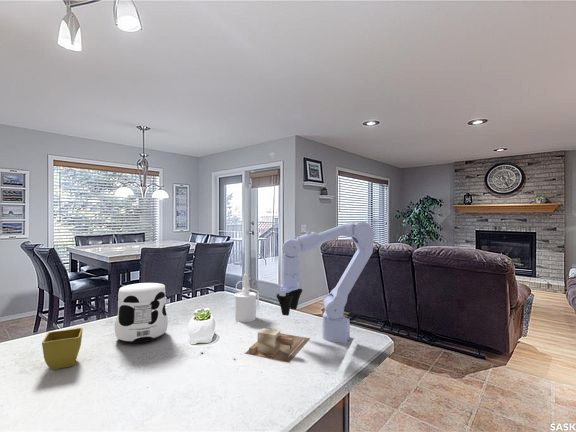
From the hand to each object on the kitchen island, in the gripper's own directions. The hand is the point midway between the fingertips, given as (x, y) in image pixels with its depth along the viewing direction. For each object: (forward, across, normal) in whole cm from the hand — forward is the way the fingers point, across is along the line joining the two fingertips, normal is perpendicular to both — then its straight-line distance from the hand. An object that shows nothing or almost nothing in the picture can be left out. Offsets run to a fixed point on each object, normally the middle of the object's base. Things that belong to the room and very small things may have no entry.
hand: (289, 312), depth 112 cm
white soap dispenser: (+11, -12, -24) cm, 29 cm away
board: (+10, +8, 0) cm, 13 cm away
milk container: (+11, +18, -50) cm, 54 cm away
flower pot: (+11, +43, -54) cm, 70 cm away
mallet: (+9, +13, +1) cm, 16 cm away
